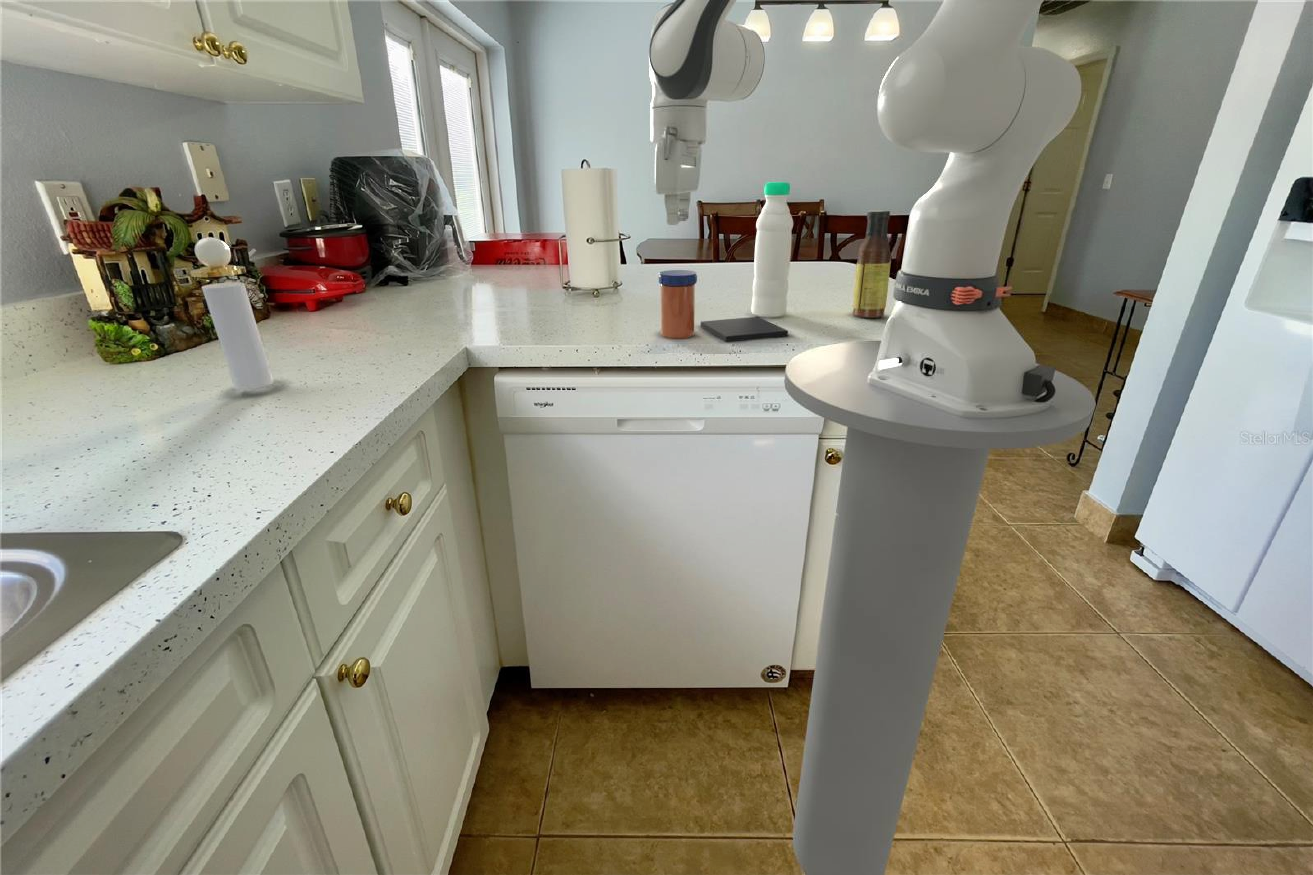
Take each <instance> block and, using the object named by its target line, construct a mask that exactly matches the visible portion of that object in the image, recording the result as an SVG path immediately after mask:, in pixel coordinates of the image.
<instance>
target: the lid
mask: <svg viewBox="0 0 1313 875" xmlns="http://www.w3.org/2000/svg"><path fill="white" fill-rule="evenodd" d="M697 282H698V272H697V271H695V270H689V269H688V270H687V269H669V270H662V271H659V273H658V283H659V284H660V285H661V284H662V285H669V286H686V285H693V284H695V285H696V284H697Z"/></svg>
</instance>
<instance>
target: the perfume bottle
mask: <svg viewBox="0 0 1313 875" xmlns="http://www.w3.org/2000/svg"><path fill="white" fill-rule="evenodd" d="M194 254H195V257H196V258H197V260H198V261H199V262H200V263H201V264H202V265H203V267H200V268H197V269H193V270H190V271H189V273H190V275H191V277H193V278H219V277H228V276H235V275H236V276H237V275H242V274H245V273H247V268H246V266H243V265H234V264H230V262H231V259H232V252H231V249H230V247H229V246H228V244H226V242H224V241H223V240H221V239H219V238H216V237H214V236H213V237H211V236H207V237H203V238H201V239H199V240H198V241H196V243H195V245H194ZM201 290H202V293H203V296H204V298H202V299H201V302H202V305H203V309H204V311H205V314H206V315H208V317H209V320H210V321H212V323H213V327H214V330H215V333H216V336H217V338H218V341H219V342H218V343H219V345H220V348H221V351H222V354H223V357H224V360H225V363H226V366H227V369H228V373H229V375H230V378H231V382H232V385H233V388H234V389H235V390H237V391H249V390H250V391H251V390H256V389H261V388H264V387H267V386H270V385H272V384H273V383H274V378H273V375H272V372H271V369H270V365H269V362H268V359H267V355H266V352H265V348H264V345H263V342H262V337H261V334H260V331H259V328H258V325H257V322H256V318H255V315H254V311H253V308H252V305H251V301H250V298H249V294H248V291H247V288H246V285H245V282H239V281H236V282H235V281H231V282H217V283H210V284H206V285H202V286H201Z"/></svg>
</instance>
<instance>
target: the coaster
mask: <svg viewBox="0 0 1313 875" xmlns="http://www.w3.org/2000/svg"><path fill="white" fill-rule="evenodd" d="M700 328H701V329H702V328H703V329H704V330H705V331H707V332H709V333H710V334H712V335H714V336H716V337H717V338H719V339H720V340H722V341H723V342H725V343H731V342H740V341H748V340H750V341H751V340H761V339H771V338H781V337H788V336H789V330H787V329H786V328H784V327H781V326H780V325H777V324H775V323H773V322H771V321H768V320H766V319H763V317H759V316H749V317H736V318H726V319H715V320H714V319H713V320H702V321H700Z"/></svg>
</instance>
